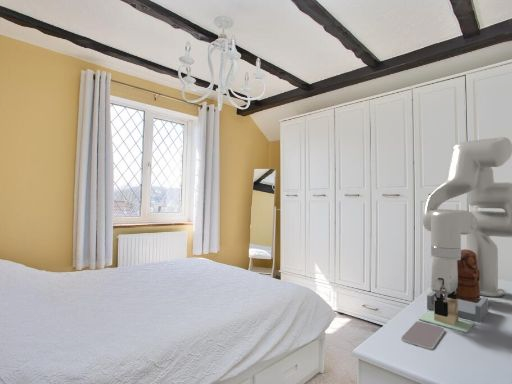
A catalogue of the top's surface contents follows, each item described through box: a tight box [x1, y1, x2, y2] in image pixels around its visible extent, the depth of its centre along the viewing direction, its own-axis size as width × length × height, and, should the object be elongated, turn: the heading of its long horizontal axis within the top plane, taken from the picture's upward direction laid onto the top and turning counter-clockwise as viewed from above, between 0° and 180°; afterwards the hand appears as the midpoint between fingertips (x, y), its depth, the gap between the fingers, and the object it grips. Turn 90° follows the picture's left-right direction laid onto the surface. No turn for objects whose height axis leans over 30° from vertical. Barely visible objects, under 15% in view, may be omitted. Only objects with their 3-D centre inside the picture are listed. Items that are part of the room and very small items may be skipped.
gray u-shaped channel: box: [426, 291, 489, 323], centre depth 97 cm, size 12×14×4 cm
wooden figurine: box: [456, 248, 481, 303], centre depth 107 cm, size 12×6×18 cm, turn 129°
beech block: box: [433, 298, 459, 325], centre depth 88 cm, size 5×5×6 cm
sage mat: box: [418, 310, 475, 334], centre depth 88 cm, size 9×12×1 cm
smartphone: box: [400, 320, 446, 351], centre depth 79 cm, size 7×1×15 cm
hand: (445, 310), depth 88 cm, fingers open, 9 cm apart
